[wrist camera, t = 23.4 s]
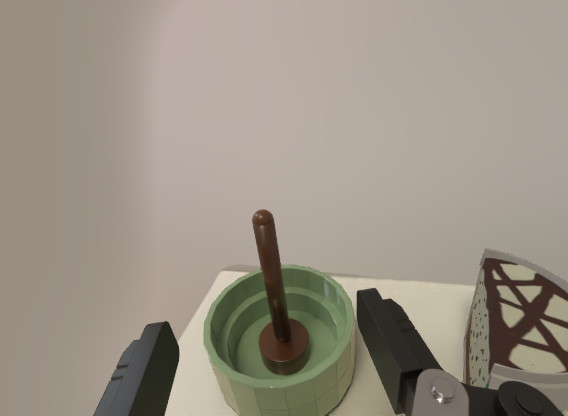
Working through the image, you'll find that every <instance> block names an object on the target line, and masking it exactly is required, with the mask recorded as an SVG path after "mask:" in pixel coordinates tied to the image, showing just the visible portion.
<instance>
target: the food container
mask: <svg viewBox="0 0 568 416" xmlns="http://www.w3.org/2000/svg"><path fill="white" fill-rule="evenodd" d="M480 265H481V267H480V271H479V276H478V280H477V284H476V289H475V293H474V297H473V302H472V306H471V311H470V315H469V319H468V324H467V328H466V332H465V337H464V370H463V383H464V384H467V385H471V386H477V387H483V388H489V389H496V390H498V388H499V386H500V385H501V384H502V383H503V382H505V381H519V382H523V383H526V384H528V385H530V386H532V387H534V388H536V389H537V390H539V391H540V392H542V393H543V394H544V395H545V396H547V397H548V398H549V399H550V400H551V401H552V402H553V404H554V405H555V406H556V407H557V408H558V409H559V410H560V412H562V411H563V410H567V409H568V281H567V280H566V279H564V278H562V277H561V276H559V275H557V274H556V273H554V272H552V271H550V270H548V269H546V268H544V267H542V266H540V265H538V264H536V263H533V262H531V261H528V260H526V259H523V258H520V257H517V256H514V255H511V254H508V253H504V252H500V251H497V250H491V249H487V248H485V250H484V253H483V255H482V259H481V262H480Z"/></svg>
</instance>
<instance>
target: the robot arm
mask: <svg viewBox="0 0 568 416" xmlns="http://www.w3.org/2000/svg"><path fill="white" fill-rule="evenodd" d="M357 322H358V326H359V329H360V332H361V334H362V337H363V339H364V341H365V344H366V346H367V348H368V351H369V353H370V356H371V358H372V360H373V363H374V365H375V367H376V370H377V372H378V374H379V377H380V379H381V381H382V384H383V386H384V389H385V391H386V393H387V396H388V398H389V400H390V403H391V405H392V407H393V410H394V412H395V414H396V415H397V414H403V413H405V415H406V416H564V415H563V414H562V413H561V412H560V410H559V409H558V408H557V407H556V406H555V405H554V404H553V402H552V401H551V400H550V399H549V398H548V397H547V396H545V395H544V394H543V393H542V392H540V391H539V390H537V389H536V388H534V387H532V386H530V385H528V384H526V383H523V382H519V381H505V382H503V383H502V384H501V385H500V386H499V388H498V390H496V389H489V388H483V387H477V386H471V385H467V384H464V383H462V382H459V381H458V380H457V379H456V378H455V377H454V376H452V375H451V374H449V373H447V372H445V371H444V370H443V369H442V368H441V367H440V365H439V364H438V362H437V361H436V359H435V358H434V356H433V355H432V353H431V351H430V350H429V348H428V347H427V345H426V344H425V342H424V341H423V339H422V338H421V336H420V335H419V333H418V332H417V330H415V327H414V325H413V324H412V322H411V321H410V320H409V318H408V316H407V315H406V313H405V312H404V310H403V309H402V307H401V306H400V305H398V304H397V303H396V302H394V301H393V300H392V299H385V300H383V299H382V297H381V296H380V294H379V292H378V291H377V289H376V288H371V289H365V290H358V291H357ZM178 362H179V346H178V343H177V341H176V338H175V336H174V334H173V332H172V329H171V327H170V324H169V323H168V322H167V321H165V322H159V323H153V324H148V325H146V327H145V328H144V331H143V333H142V335H141V338H140V339H139V340H134V341H133V342H132V343H131V344H130V346H129V347H128V348H127V349H126V350H125V351H124V353H123V354H122V356H121V358H120V360H119V363H118V365H117V369H115V371H114V373H113V375H112V377H111V381H110V382H109V383H108V386H107V388H106V390H105V392H104V394H103V396H102V398H101V400H100V402H99V404H98V407H97V409H96V411H95V413H94V415H93V416H164V415H165V411H166V407H167V404H168V400H169V396H170V392H171V389H172V385H173V381H174V377H175V373H176V370H177V366H178Z"/></svg>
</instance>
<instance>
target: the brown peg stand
mask: <svg viewBox="0 0 568 416" xmlns="http://www.w3.org/2000/svg"><path fill="white" fill-rule="evenodd" d="M252 222H253V228H254V233H255V238H256V243H257V248H258V254H259V259H260V264H261V269H262V274H263V280H264V285H265V290H266V295H267V300H268V305H269V311H270V316H271V321H272V322H270V323H269V324H267V325H266V326H265V327H264V329H263V330H262V332H261V334H260V336H259V349H260V353H261V357H262V361H263V363H264V365H265V367H266V368H267V369H268V370H269V371H271V372H272V373H274V374H277V375H282V376H286V375H291V374H294V373H296V372H298V371H300V370H301V369H302V368H303V367H304V366H305V365H306V363H307V362H308V359H309V356H310V344H309V335H308V332H307V329H306V328H305V326H304V325H303V324H302V323H301V322H299V321H297V320H295V319H292V318H289V315H288V309H287V302H286V296H285V289H284V283H283V276H282V270H281V263H280V257H279V250H278V244H277V238H276V231H275V224H274V218H273V215H272V214H271V213H270V212H269V211H267V210H259V211H257V212H256V213H255V214H254V215H253V219H252Z"/></svg>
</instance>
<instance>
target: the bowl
mask: <svg viewBox="0 0 568 416" xmlns="http://www.w3.org/2000/svg"><path fill="white" fill-rule="evenodd" d="M281 270H282V276H283V283H284V289H285V296H286V302H287V309H288V315H289V318H292V319H295V320H297V321H299V322H301V323H302V324H303V325H304V326H305V328H306V329H307V332H308V335H309V344H310V356H309V359H308V362H307V363H306V365H305V366H304V367H303V368H302V369H301V370H300V371H298V372H296V373H294V374H291V375H286V376H282V375H277V374H274V373H272V372H271V371H269V370H268V369H267V368H266V367H265V365H264V363H263V361H262V357H261V353H260V349H259V336H260V334H261V332H262V330H263V329H264V327H265V326H266V325H267V324H269V323H270V322H272V321H271V316H270V311H269V305H268V300H267V295H266V290H265V285H264V280H263V274H262V269H259V270H255V271H253V272H251V273H249V274H247V275H245V276H243V277H241V278H238V279H237V280H236V281H235V282H233V283H232V284H231V285H229V286H228V287H227V288H225V289H224V290H223V291H222V292H221V294H220V295H219V296H218V297H217V299H216V300H215V301H214V302H213V304H212V305H211V307H210V310H209V312H208V315H207V317H206V320H205V322H204V346H205V348H206V351H207V354H208V357H209V359H210V362H211V365H212V368H213V370H214V373H215V376H216V378H217V381H218V384H219V386H220V389H221V391H222V394H223V396H224V399H225V401H226V403H227V404H228V405H229V406H230V407H231V408H232V409H233V410H234V411H235V412H236V413H237V414H238V415H239V416H325V415H326V414H327V413H328V412H329V411H331V410H332V409H333V408H334V407H335V406H337V405H338V403H339V402H340V401H341V399H342V397H343V396H344V394H345V392H346V390H347V389H348V387H349V385H350V384H351V381H352V375H353V370H354V364H355V317H354V312H353V307H352V302H351V300H350V298H349V297H348V295H347V293H346V292H345V290H344V289H343V287H342V286H341V285H340V284H339V283H338V282H336V281H335V280H334V279H332V278H331V277H330V276H329V275H327V274H325V273H323V272H320V271H318V270H315V269H313V268H310V267H304V266H298V265H281Z"/></svg>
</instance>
